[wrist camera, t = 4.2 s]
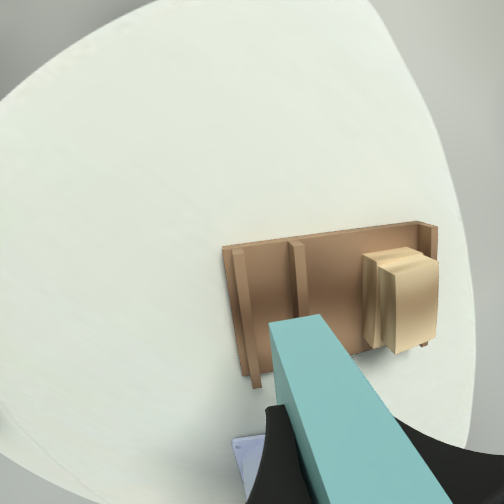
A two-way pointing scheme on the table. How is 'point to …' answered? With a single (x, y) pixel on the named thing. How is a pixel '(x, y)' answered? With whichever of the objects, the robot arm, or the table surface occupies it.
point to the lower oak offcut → (376, 291)
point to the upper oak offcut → (408, 301)
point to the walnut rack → (308, 284)
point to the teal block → (343, 423)
